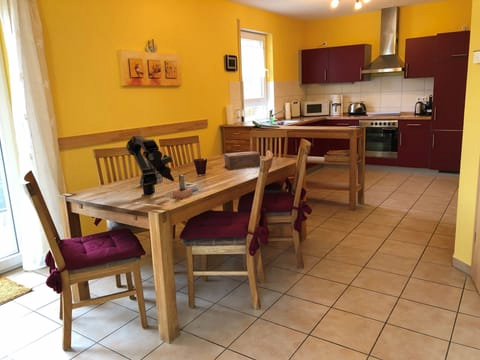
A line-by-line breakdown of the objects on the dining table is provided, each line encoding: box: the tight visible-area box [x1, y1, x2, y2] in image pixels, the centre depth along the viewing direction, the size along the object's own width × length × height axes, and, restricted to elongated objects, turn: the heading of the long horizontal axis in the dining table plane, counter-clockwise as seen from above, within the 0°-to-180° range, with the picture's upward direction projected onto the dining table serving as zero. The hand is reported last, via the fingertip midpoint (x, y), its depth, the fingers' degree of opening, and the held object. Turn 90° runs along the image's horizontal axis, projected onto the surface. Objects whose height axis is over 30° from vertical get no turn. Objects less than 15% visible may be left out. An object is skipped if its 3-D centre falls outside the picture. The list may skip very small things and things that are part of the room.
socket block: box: [178, 182, 199, 192], centre depth 234 cm, size 8×8×4 cm
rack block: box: [172, 187, 193, 198], centre depth 223 cm, size 8×8×4 cm
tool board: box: [162, 188, 207, 200], centre depth 229 cm, size 22×16×1 cm
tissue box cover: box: [224, 150, 261, 169], centre depth 313 cm, size 26×14×10 cm, turn 106°
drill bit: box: [178, 174, 186, 191], centre depth 222 cm, size 3×3×12 cm
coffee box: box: [144, 159, 164, 184], centre depth 267 cm, size 9×6×16 cm
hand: (172, 179), depth 228 cm, fingers open, 9 cm apart
